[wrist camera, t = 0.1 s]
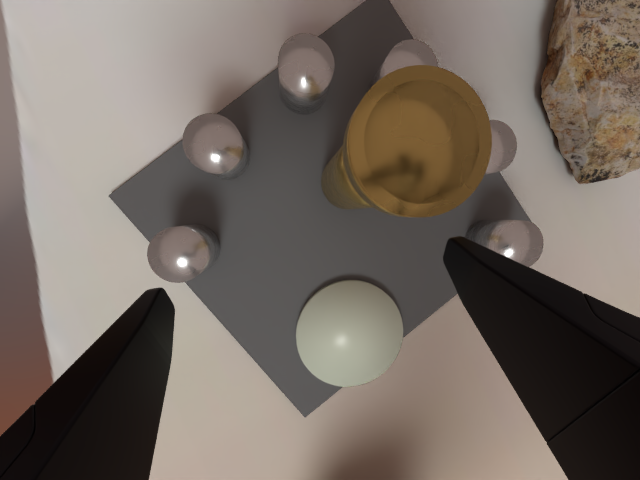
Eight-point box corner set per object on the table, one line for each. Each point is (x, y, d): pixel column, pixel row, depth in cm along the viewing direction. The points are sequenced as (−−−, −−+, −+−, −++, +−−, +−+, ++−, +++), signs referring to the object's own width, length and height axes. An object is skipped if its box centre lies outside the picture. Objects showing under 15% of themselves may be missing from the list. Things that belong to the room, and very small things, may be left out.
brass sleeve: (393, 188, 24) (517, 158, 11) (342, 229, 24) (407, 246, 11) (354, 133, 23) (439, 33, 10) (301, 175, 23) (319, 126, 10)
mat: (532, 229, 26) (536, 229, 26) (304, 414, 25) (305, 417, 25) (379, -7, 23) (381, -12, 22) (111, 196, 22) (108, 195, 21)
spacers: (502, 260, 26) (541, 268, 22) (173, 271, 22) (149, 283, 19) (510, 74, 24) (554, 47, 20) (160, 59, 21) (131, 23, 17)
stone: (682, 183, 22) (632, 149, 18) (577, 193, 28) (518, 170, 24) (697, -75, 23) (653, -171, 19) (592, -13, 29) (538, -74, 24)
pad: (420, 337, 25) (423, 340, 25) (339, 403, 25) (340, 407, 24) (359, 257, 24) (361, 259, 23) (273, 326, 24) (273, 328, 23)
